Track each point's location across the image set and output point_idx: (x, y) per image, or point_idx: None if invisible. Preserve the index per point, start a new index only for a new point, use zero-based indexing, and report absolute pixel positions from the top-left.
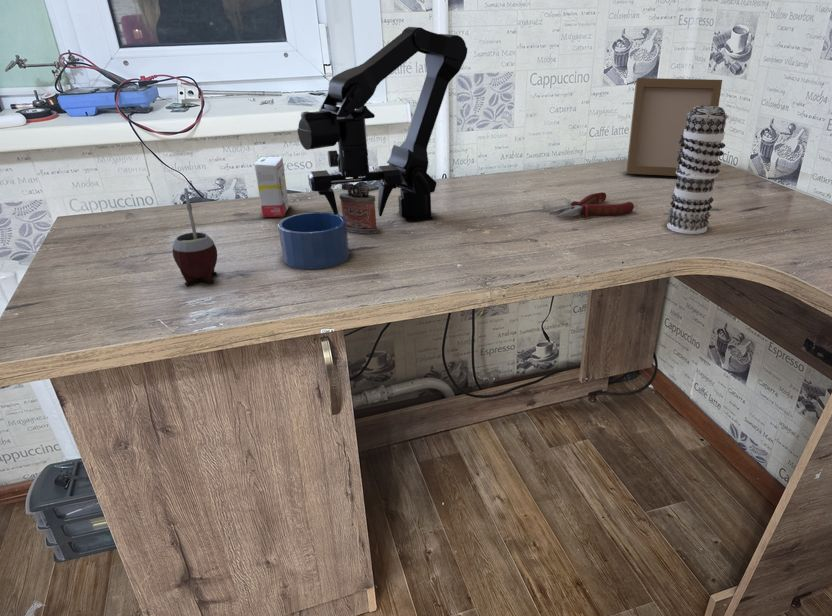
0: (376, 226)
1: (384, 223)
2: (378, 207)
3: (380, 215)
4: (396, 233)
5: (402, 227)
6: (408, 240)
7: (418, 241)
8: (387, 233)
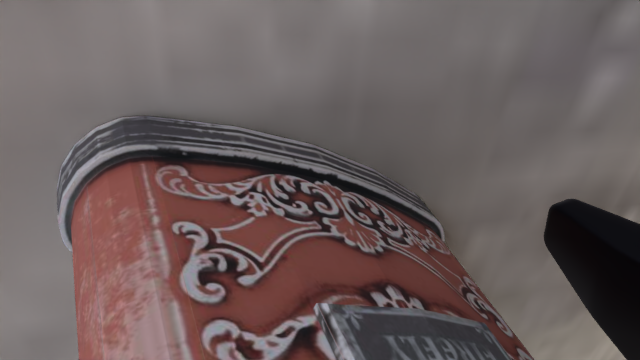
0: (440, 233)
1: (542, 5)
2: (623, 269)
3: (555, 253)
4: (535, 246)
5: (627, 124)
6: (548, 331)
7: (586, 333)
8: (479, 253)
